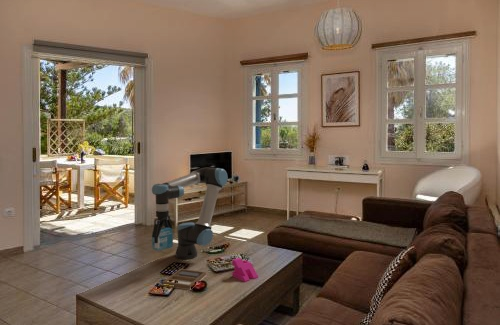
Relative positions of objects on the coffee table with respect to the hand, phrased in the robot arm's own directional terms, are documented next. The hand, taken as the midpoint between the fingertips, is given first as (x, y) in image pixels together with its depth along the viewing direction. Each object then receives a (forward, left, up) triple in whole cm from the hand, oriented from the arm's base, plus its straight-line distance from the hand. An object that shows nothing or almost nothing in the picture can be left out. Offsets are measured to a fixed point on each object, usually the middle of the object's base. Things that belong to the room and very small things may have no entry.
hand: (162, 244), depth 232 cm
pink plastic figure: (-12, +49, -19) cm, 54 cm away
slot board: (+6, +18, -18) cm, 26 cm away
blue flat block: (0, 0, -2) cm, 2 cm away
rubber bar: (+1, +18, -17) cm, 25 cm away
